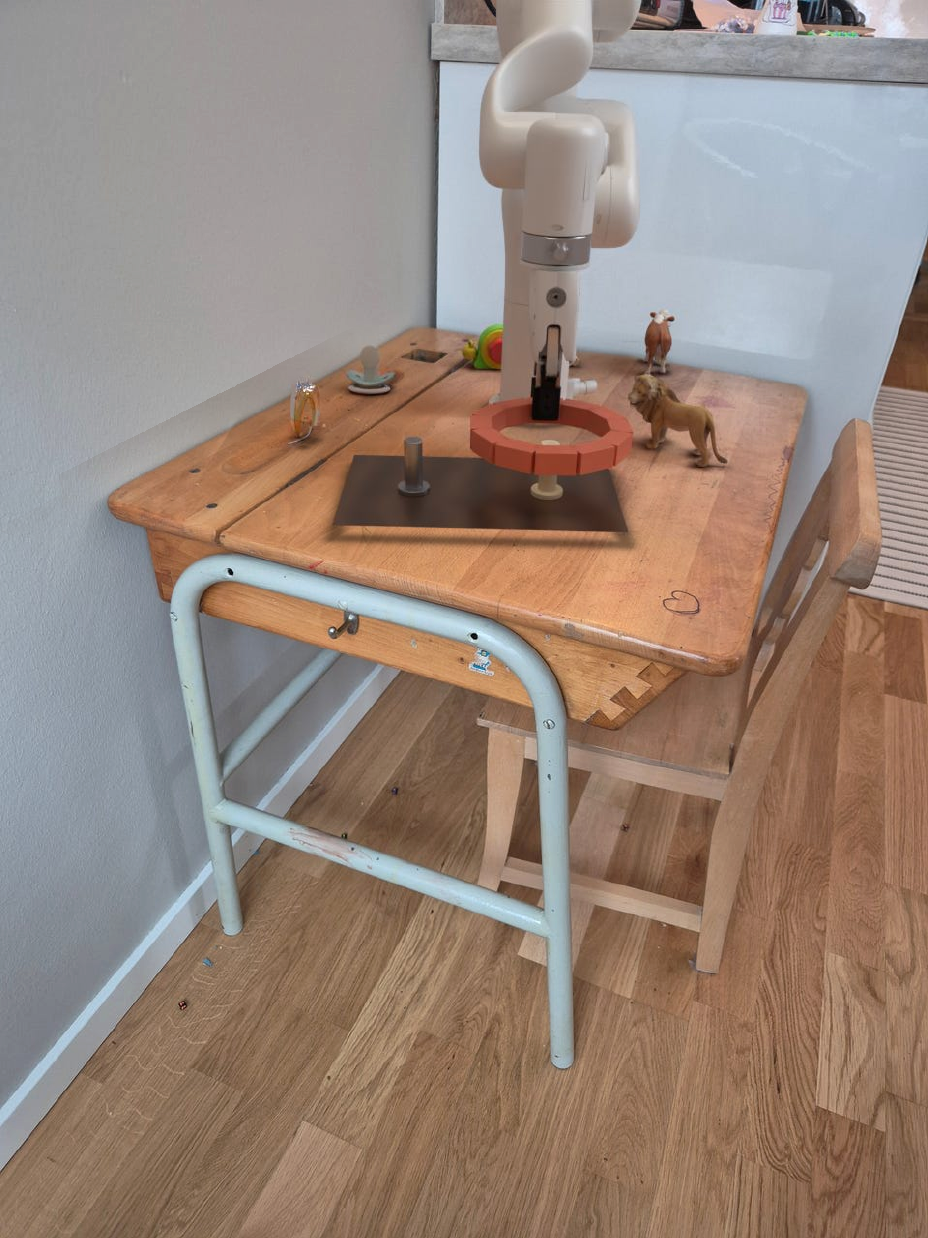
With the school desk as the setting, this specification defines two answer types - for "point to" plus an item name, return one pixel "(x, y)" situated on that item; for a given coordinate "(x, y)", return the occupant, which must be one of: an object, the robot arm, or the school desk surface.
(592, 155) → the robot arm
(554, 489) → the cream post
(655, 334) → the bull figurine
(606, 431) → the ring
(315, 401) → the ring
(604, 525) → the board
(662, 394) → the lion figurine
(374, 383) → the pacifier
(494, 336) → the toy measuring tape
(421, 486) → the steel post
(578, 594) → the school desk surface
